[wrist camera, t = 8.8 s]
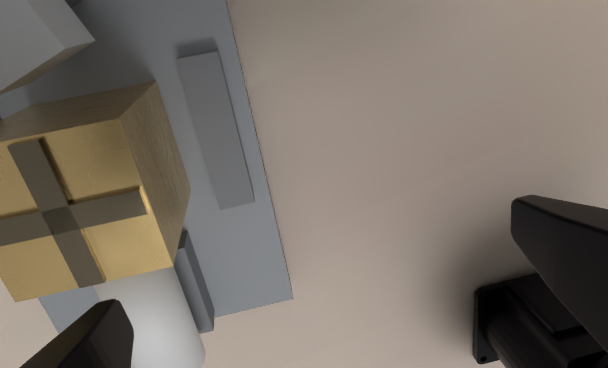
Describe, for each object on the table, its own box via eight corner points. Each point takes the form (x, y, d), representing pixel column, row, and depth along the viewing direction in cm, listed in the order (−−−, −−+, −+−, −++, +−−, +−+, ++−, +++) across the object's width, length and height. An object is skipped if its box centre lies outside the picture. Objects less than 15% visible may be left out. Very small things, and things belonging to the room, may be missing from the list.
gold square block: (191, 189, 19) (172, 269, 13) (80, 213, 18) (12, 306, 13) (156, 80, 16) (116, 120, 11) (30, 105, 16) (-79, 159, 10)
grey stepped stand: (290, 281, 23) (306, 365, 18) (79, 331, 22) (30, 435, 17) (191, -151, 15) (166, -240, 9) (-155, -97, 14) (-402, -161, 9)
